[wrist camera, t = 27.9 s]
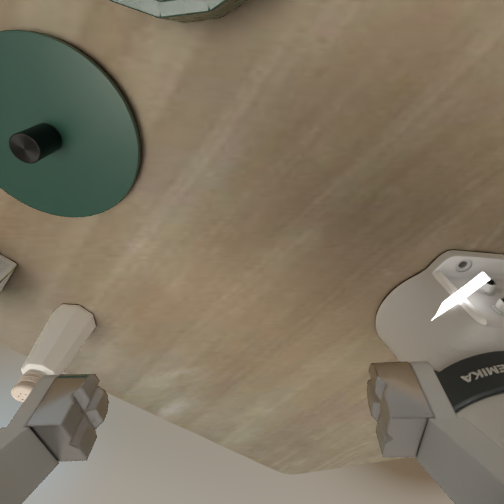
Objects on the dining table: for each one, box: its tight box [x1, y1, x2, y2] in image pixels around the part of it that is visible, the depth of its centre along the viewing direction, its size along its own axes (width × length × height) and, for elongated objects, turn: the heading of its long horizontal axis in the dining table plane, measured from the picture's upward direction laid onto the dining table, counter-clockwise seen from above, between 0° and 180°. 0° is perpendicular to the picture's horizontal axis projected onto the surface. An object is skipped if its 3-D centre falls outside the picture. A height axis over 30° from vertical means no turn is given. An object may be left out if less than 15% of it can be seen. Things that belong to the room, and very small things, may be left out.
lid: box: [0, 30, 141, 217], centre depth 28 cm, size 16×16×5 cm
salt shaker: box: [11, 304, 96, 402], centre depth 38 cm, size 5×5×11 cm
